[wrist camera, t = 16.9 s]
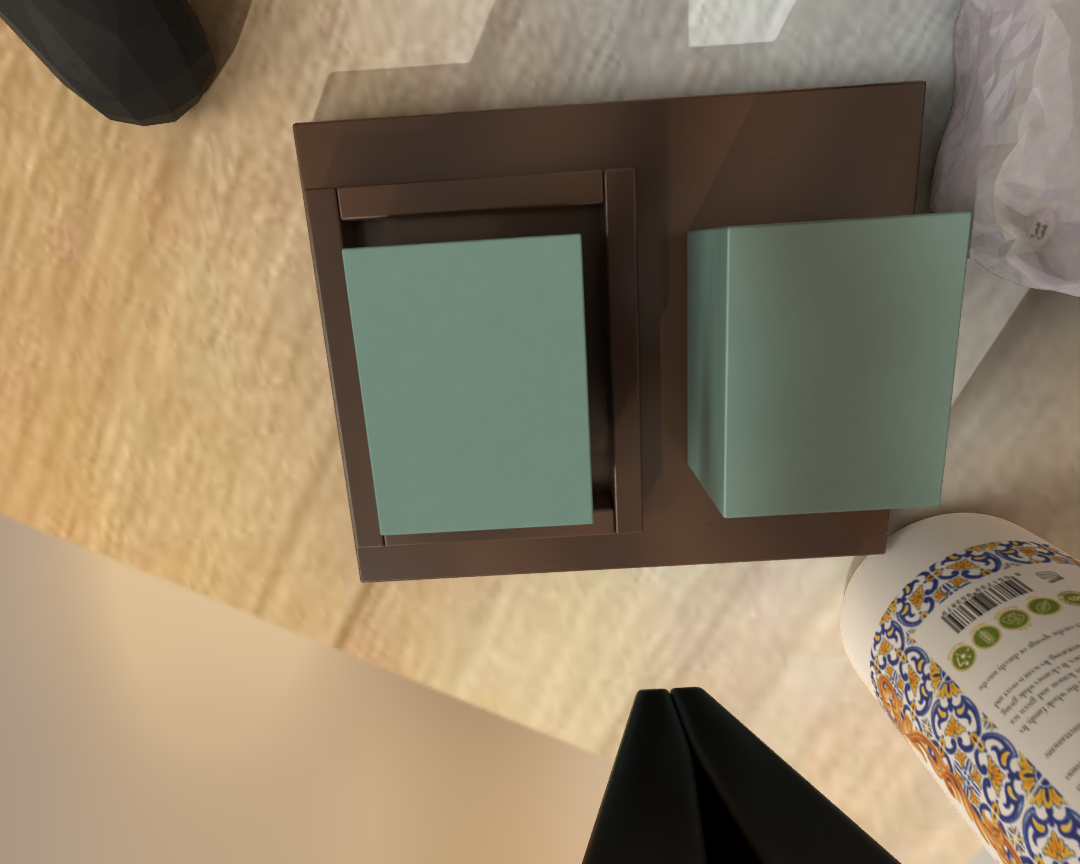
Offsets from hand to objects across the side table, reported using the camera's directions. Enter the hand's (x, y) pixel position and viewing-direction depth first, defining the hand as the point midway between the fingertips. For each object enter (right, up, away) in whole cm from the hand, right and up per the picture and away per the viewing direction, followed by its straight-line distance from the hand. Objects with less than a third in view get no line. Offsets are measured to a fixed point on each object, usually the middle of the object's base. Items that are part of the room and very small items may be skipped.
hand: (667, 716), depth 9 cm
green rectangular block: (-3, +6, +10) cm, 12 cm away
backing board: (0, +6, +11) cm, 12 cm away
